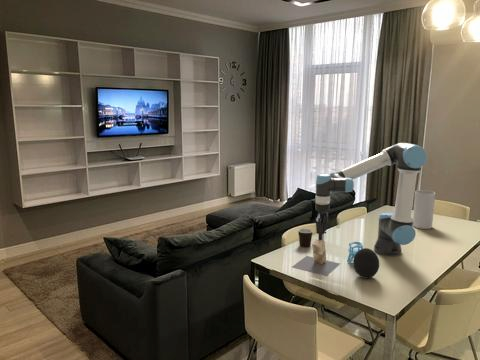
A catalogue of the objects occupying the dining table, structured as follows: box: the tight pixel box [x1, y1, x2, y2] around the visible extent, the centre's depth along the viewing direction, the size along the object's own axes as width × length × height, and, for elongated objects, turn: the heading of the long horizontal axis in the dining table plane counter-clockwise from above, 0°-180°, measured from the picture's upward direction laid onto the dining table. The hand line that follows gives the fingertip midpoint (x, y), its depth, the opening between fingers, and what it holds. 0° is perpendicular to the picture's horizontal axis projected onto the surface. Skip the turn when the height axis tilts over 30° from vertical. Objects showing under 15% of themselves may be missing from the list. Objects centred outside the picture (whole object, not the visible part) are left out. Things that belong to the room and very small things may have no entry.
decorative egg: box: [352, 247, 380, 279], centre depth 194 cm, size 12×12×15 cm
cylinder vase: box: [412, 189, 436, 230], centre depth 272 cm, size 12×12×25 cm
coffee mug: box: [297, 228, 313, 248], centre depth 239 cm, size 12×9×10 cm
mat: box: [291, 255, 341, 277], centre depth 209 cm, size 20×19×1 cm
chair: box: [346, 241, 364, 265], centre depth 212 cm, size 8×8×12 cm
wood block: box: [311, 238, 327, 264], centre depth 211 cm, size 5×5×12 cm
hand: (320, 244), depth 212 cm, fingers closed
